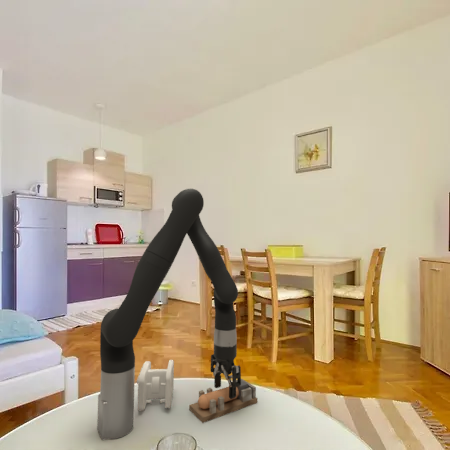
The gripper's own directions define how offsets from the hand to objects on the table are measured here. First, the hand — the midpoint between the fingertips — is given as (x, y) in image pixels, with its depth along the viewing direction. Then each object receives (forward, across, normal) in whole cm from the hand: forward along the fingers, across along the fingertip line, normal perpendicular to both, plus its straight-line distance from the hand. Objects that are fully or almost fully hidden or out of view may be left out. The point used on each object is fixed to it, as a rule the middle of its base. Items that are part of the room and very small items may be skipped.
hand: (224, 392), depth 101 cm
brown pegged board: (+4, 0, 0) cm, 4 cm away
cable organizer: (+5, -14, -18) cm, 23 cm away
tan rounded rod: (+3, 0, -1) cm, 3 cm away
